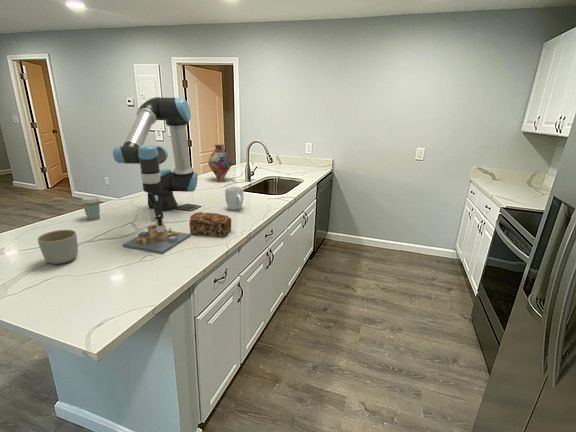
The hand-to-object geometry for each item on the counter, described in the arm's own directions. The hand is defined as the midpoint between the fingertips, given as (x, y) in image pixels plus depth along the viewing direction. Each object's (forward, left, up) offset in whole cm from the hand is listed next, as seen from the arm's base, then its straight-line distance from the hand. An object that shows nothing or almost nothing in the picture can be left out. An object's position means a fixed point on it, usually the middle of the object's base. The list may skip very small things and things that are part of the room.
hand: (157, 226), depth 146 cm
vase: (-33, +122, -7) cm, 126 cm away
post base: (0, 0, -7) cm, 7 cm away
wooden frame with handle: (0, 0, -6) cm, 6 cm away
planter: (-23, -29, -7) cm, 38 cm away
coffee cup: (-52, +13, -7) cm, 54 cm away
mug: (+12, +57, -7) cm, 59 cm away
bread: (+17, +19, -8) cm, 26 cm away
